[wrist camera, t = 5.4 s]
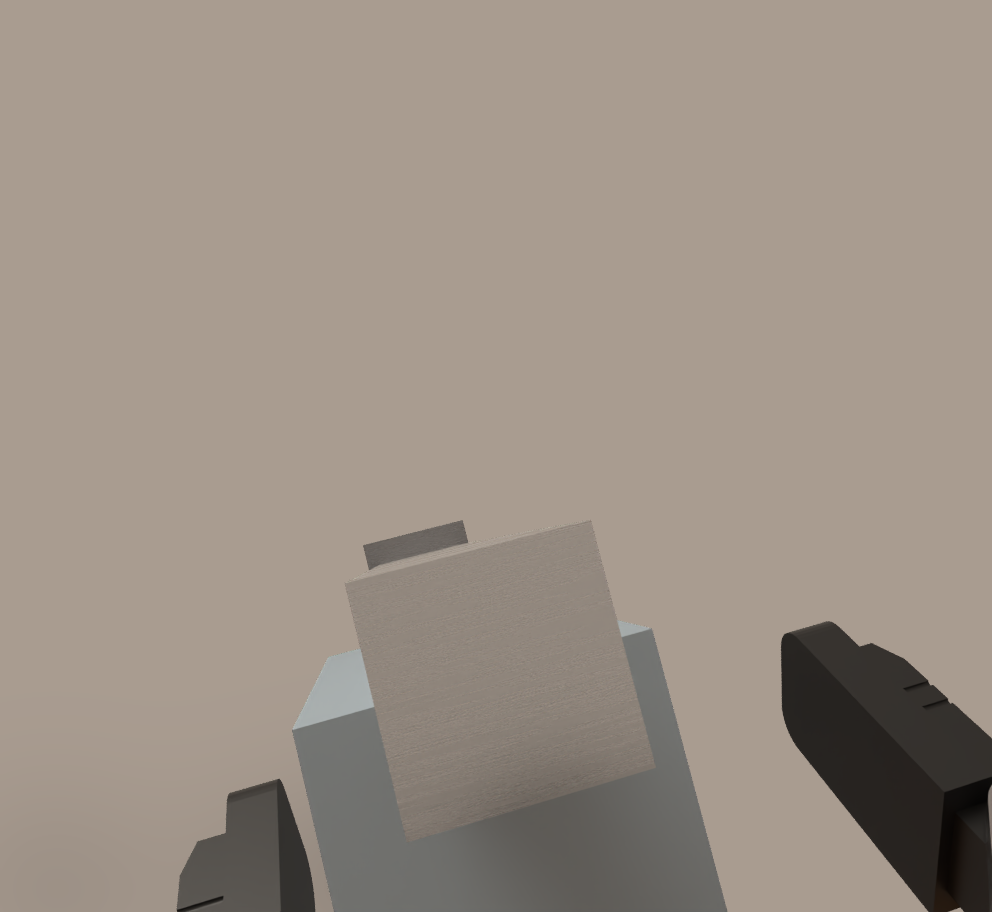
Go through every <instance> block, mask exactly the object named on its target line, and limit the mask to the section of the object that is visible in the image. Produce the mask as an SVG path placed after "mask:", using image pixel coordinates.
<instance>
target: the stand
mask: <svg viewBox="0 0 992 912" xmlns="http://www.w3.org/2000/svg"><path fill="white" fill-rule="evenodd" d="M617 622H618V625H619V629H620V633H621V637H622V641H623V644H624V648H625V652H626V656H627V660H628V663H629V667H630V671H631V675H632V679H633V682H634V686H635V690H636V694H637V698H638V701H639V705H640V709H641V713H642V717H643V720H644V724H645V728H646V732H647V736H648V739H649V743H650V747H651V751H652V755H653V758H654V762H655V766H656V768H653V769H650V770H647V771H643V772H640V773H637V774H634V775H630V776H627V777H624V778H620V779H617V780H614V781H610V782H607V783H604V784H600V785H597V786H594V787H590V788H587V789H584V790H580V791H577V792H574V793H570V794H567V795H564V796H560V797H557V798H554V799H550V800H547V801H544V802H540V803H537V804H534V805H530V806H527V807H524V808H520V809H517V810H514V811H510V812H507V813H504V814H500V815H497V816H494V817H490V818H487V819H484V820H481V821H477V822H474V823H471V824H467V825H464V826H461V827H457V828H454V829H451V830H447V831H444V832H441V833H437V834H434V835H431V836H427V837H424V838H421V839H417V840H414V841H411V842H407V841H406V837H405V833H404V829H403V824H402V820H401V816H400V812H399V808H398V804H397V799H396V795H395V791H394V787H393V783H392V778H391V774H390V770H389V766H388V762H387V758H386V753H385V749H384V745H383V741H382V737H381V733H380V728H379V724H378V720H377V716H376V712H375V707H374V703H373V699H372V695H371V691H370V687H369V682H368V678H367V674H366V670H365V666H364V661H363V657H362V653H361V649H357V650H353V651H349V652H346V653H342V654H338V655H335V656H331V657H328V659H327V661H326V663H325V665H324V667H323V669H322V671H321V673H320V675H319V677H318V679H317V681H316V683H315V685H314V687H313V689H312V691H311V693H310V695H309V697H308V699H307V701H306V703H305V705H304V707H303V709H302V711H301V713H300V715H299V717H298V719H297V721H296V723H295V725H294V727H293V729H292V732H293V736H294V740H295V744H296V749H297V753H298V758H299V762H300V766H301V771H302V774H303V779H304V783H305V788H306V792H307V796H308V800H309V805H310V809H311V814H312V818H313V822H314V826H315V831H316V835H317V840H318V844H319V848H320V853H321V857H322V861H323V866H324V870H325V874H326V879H327V883H328V887H329V892H330V896H331V900H332V904H333V909H334V912H727V908H726V905H725V901H724V897H723V893H722V890H721V886H720V882H719V878H718V875H717V871H716V867H715V864H714V860H713V856H712V852H711V848H710V845H709V841H708V837H707V833H706V830H705V826H704V822H703V818H702V815H701V811H700V807H699V803H698V800H697V796H696V792H695V789H694V785H693V781H692V777H691V773H690V770H689V766H688V762H687V759H686V755H685V751H684V747H683V743H682V740H681V736H680V732H679V728H678V724H677V721H676V717H675V713H674V709H673V706H672V702H671V698H670V695H669V691H668V687H667V683H666V679H665V676H664V672H663V668H662V664H661V661H660V657H659V653H658V650H657V646H656V642H655V638H654V634H653V631H652V629H651V628H647V627H643V626H639V625H635V624H631V623H627V622H623V621H618V620H617Z"/></svg>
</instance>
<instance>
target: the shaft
mask: <svg viewBox="0 0 992 912" xmlns="http://www.w3.org/2000/svg"><path fill="white" fill-rule="evenodd" d="M363 547H364V551H365V555H366V559H367V563H368V567H369V571H367V572H365V573H363V574H361V575H360V576H358V577H356V578H354V579H352V580H350V581H348V582H347V583H345V586H346V590H347V595H348V599H349V603H350V607H351V611H352V615H353V620H354V623H355V628H356V632H357V636H358V641H359V645H360V649H361V653H362V657H363V661H364V666H365V670H366V674H367V678H368V682H369V687H370V691H371V695H372V699H373V703H374V707H375V712H376V716H377V720H378V724H379V728H380V733H381V737H382V741H383V745H384V749H385V753H386V758H387V762H388V766H389V770H390V774H391V778H392V783H393V787H394V791H395V795H396V799H397V804H398V808H399V812H400V816H401V820H402V824H403V829H404V833H405V837H406V841H407V842H411V841H414V840H417V839H421V838H424V837H427V836H431V835H434V834H437V833H441V832H444V831H447V830H451V829H454V828H457V827H461V826H464V825H467V824H471V823H474V822H477V821H481V820H484V819H487V818H490V817H494V816H497V815H500V814H504V813H507V812H510V811H514V810H517V809H520V808H524V807H527V806H530V805H534V804H537V803H540V802H544V801H547V800H550V799H554V798H557V797H560V796H564V795H567V794H570V793H574V792H577V791H580V790H584V789H587V788H590V787H594V786H597V785H600V784H604V783H607V782H610V781H614V780H617V779H620V778H624V777H627V776H630V775H634V774H637V773H640V772H643V771H647V770H650V769H653V768H656V766H655V762H654V758H653V755H652V751H651V747H650V743H649V739H648V736H647V732H646V728H645V724H644V720H643V717H642V713H641V709H640V705H639V701H638V698H637V694H636V690H635V686H634V682H633V679H632V675H631V671H630V667H629V663H628V660H627V656H626V652H625V648H624V644H623V641H622V637H621V633H620V629H619V625H618V622H617V618H616V614H615V611H614V607H613V603H612V599H611V595H610V591H609V588H608V584H607V580H606V577H605V572H604V569H603V565H602V561H601V557H600V553H599V550H598V546H597V542H596V538H595V534H594V531H593V527H592V523H591V520H587V521H582V522H576V523H571V524H566V525H560V526H555V527H550V528H545V529H540V530H534V531H529V532H523V533H518V534H513V535H507V536H502V537H497V538H491V539H487V540H481V541H475V542H471V543H468V540H467V536H466V532H465V528H464V524H463V521H458V522H454V523H450V524H446V525H442V526H438V527H434V528H430V529H426V530H422V531H418V532H414V533H410V534H406V535H402V536H398V537H394V538H391V539H387V540H383V541H379V542H375V543H371V544H367V545H364V546H363Z"/></svg>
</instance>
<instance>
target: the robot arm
mask: <svg viewBox="0 0 992 912" xmlns="http://www.w3.org/2000/svg"><path fill="white" fill-rule="evenodd" d="M781 668H782V711H783V716H784V720H785V724H786V727H787V729H788V731H789V734H790V736H791V738H792V740H793V742H794V743H795V745H796V746H797V748H798V749H799V750H800V751H801V753H802V754H803V755H804V756H805V758H806V759H807V760H808V761H809V763H810V764H811V765H812V766H813V768H814V769H815V770H816V771H817V773H818V774H819V775H820V777H821V778H822V779H823V780H824V781H825V783H826V784H827V785H828V786H829V788H830V789H831V790H832V791H833V793H834V794H835V795H836V797H837V798H838V799H839V800H840V802H841V803H842V804H843V805H844V806H845V808H846V809H847V810H848V812H849V813H850V814H851V815H852V817H853V818H854V819H855V820H856V822H857V823H858V824H859V825H860V826H861V828H862V829H863V830H864V832H865V833H866V834H867V835H868V837H869V838H870V839H871V840H872V842H873V843H874V844H875V845H876V847H877V848H878V849H879V850H880V852H881V853H882V854H883V855H884V857H885V858H886V859H887V860H888V862H889V863H890V864H891V865H892V867H893V868H894V869H895V870H896V872H897V873H898V874H899V875H900V877H901V878H902V879H903V880H904V882H905V883H906V884H907V885H908V887H909V888H910V889H911V890H912V892H913V893H914V894H915V895H916V897H917V898H918V899H919V900H920V902H921V903H922V904H923V905H924V906H925V908H926V909H927V910H928V912H949V911H952V910H954V909H957V908H960V907H961V909H962V910H963V911H964V912H992V738H991V737H990V736H988V735H987V734H986V733H985V732H984V731H983V730H982V729H981V728H980V727H979V726H978V725H976V724H975V723H974V722H973V721H972V720H971V719H970V718H969V717H967V716H966V715H965V714H964V713H963V712H962V711H961V710H960V709H959V708H958V707H957V706H955V705H954V704H953V703H951V704H950V703H949V702H948V698H947V697H946V696H945V695H943V694H942V693H941V692H940V691H939V690H938V689H937V688H936V687H935V686H934V685H931V686H930V684H929V682H928V680H927V679H926V678H925V677H924V676H923V675H921V674H920V673H919V672H918V671H917V670H916V669H915V668H914V667H913V666H912V665H910V664H909V663H908V662H907V661H906V660H905V659H903V658H901V657H899V656H897V655H895V654H893V653H891V652H889V651H887V650H885V649H883V648H880V647H878V646H876V645H874V644H872V643H870V644H867V645H864V646H860V647H859V646H858V645H857V644H856V643H855V642H854V641H853V640H852V639H851V638H850V637H849V636H848V635H847V634H846V633H845V632H844V631H843V630H841V629H840V627H838V626H837V625H836V624H834V623H833V622H829V621H828V622H824V623H821V624H817V625H813V626H810V627H806V628H803V629H800V630H796V631H793V632H789V633H786V634H785V635H784V636H783V638H782V642H781ZM177 912H315V901H314V892H313V883H312V877H311V872H310V867H309V863H308V859H307V855H306V851H305V848H304V845H303V843H302V839H301V837H300V833H299V830H298V828H297V825H296V822H295V819H294V816H293V813H292V810H291V807H290V804H289V801H288V798H287V795H286V792H285V789H284V786H283V784H282V782H281V780H280V779H277V780H273V781H270V782H266V783H263V784H260V785H256V786H253V787H249V788H246V789H242V790H239V791H235V792H232V793H229V795H228V799H227V814H226V833H225V834H221V835H218V836H215V837H211V838H208V839H205V840H201V841H198V842H197V844H196V846H195V848H194V850H193V851H192V853H191V855H190V857H189V859H188V861H187V863H186V865H185V867H184V869H183V871H182V873H181V875H180V882H179V892H178V904H177Z"/></svg>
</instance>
